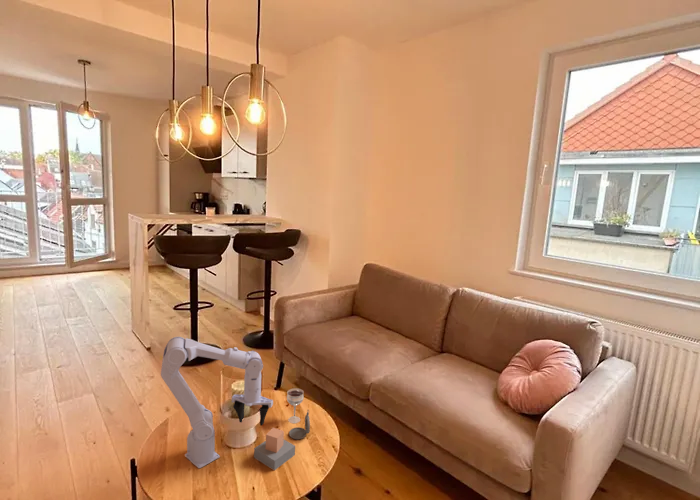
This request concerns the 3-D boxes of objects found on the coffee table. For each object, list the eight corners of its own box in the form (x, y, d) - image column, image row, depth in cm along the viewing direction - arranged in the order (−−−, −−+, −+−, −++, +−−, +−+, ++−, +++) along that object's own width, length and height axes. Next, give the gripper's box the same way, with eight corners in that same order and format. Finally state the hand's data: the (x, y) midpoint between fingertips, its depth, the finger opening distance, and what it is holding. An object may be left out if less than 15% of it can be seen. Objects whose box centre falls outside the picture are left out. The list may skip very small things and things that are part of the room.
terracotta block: (265, 449, 137) (265, 434, 136) (272, 441, 141) (272, 427, 140) (276, 452, 135) (277, 438, 134) (283, 445, 139) (283, 430, 138)
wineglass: (283, 422, 158) (284, 395, 156) (289, 413, 165) (290, 387, 163) (299, 426, 157) (300, 398, 155) (304, 416, 163) (306, 389, 161)
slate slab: (253, 458, 137) (254, 448, 137) (274, 444, 146) (275, 434, 145) (274, 471, 132) (274, 460, 131) (294, 456, 140) (295, 445, 139)
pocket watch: (285, 434, 151) (286, 410, 149) (302, 425, 157) (303, 402, 156) (299, 444, 146) (300, 419, 144) (316, 435, 152) (317, 411, 150)
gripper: (227, 389, 135) (227, 426, 137) (268, 395, 133) (267, 432, 135) (236, 380, 142) (236, 414, 144) (275, 385, 140) (274, 420, 142)
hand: (251, 422), depth 140 cm, fingers open, 7 cm apart
